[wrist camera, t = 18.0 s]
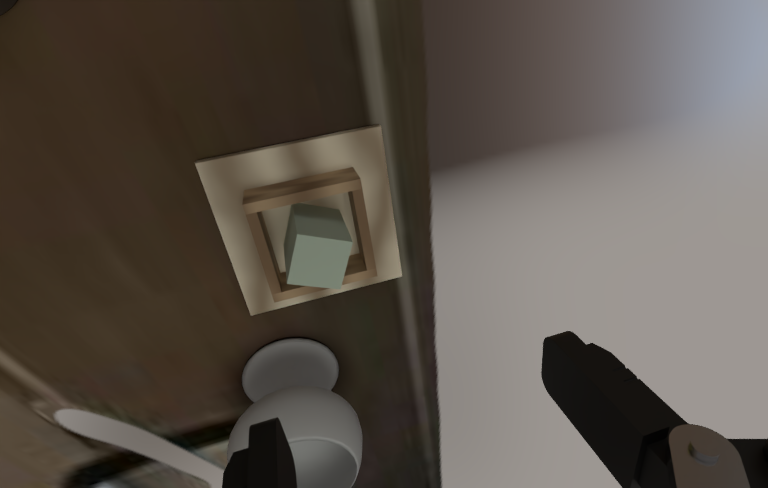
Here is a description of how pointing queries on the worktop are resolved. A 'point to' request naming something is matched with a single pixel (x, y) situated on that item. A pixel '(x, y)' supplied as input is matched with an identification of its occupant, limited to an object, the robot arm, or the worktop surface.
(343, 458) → the chalice
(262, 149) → the keeper cradle
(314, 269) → the sage block
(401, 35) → the worktop surface
